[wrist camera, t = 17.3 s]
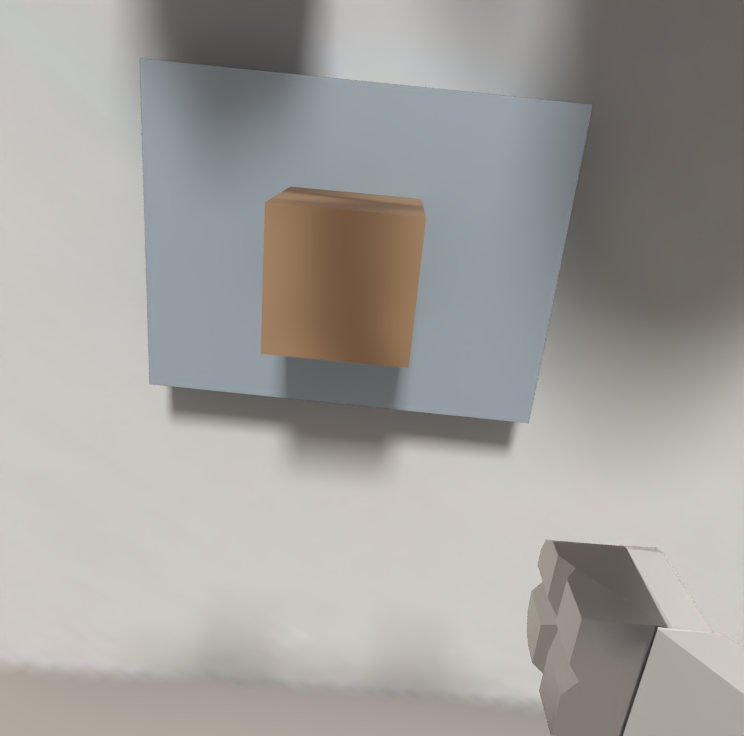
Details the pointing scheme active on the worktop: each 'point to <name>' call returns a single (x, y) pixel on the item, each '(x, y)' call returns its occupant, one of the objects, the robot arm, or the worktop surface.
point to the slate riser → (369, 176)
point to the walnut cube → (341, 275)
